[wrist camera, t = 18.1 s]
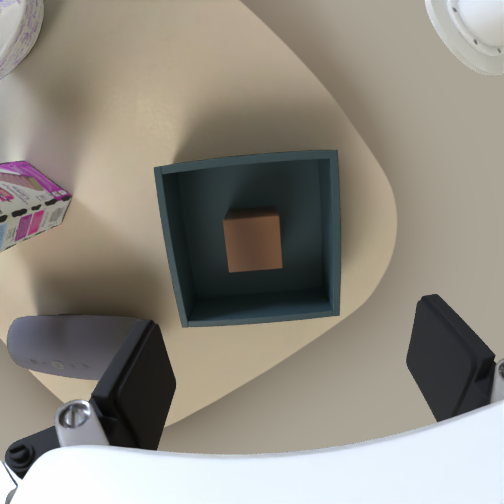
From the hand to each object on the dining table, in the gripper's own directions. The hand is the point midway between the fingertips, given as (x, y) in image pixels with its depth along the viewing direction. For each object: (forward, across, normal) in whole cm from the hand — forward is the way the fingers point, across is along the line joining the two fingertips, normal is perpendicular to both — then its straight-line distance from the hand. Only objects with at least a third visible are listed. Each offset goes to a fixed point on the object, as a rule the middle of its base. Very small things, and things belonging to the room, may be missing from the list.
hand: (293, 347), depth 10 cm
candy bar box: (+27, +31, -6) cm, 42 cm away
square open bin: (+27, +2, +3) cm, 27 cm away
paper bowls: (+27, +35, -32) cm, 55 cm away
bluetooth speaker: (+26, +29, +16) cm, 42 cm away
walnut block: (+26, +2, +3) cm, 26 cm away
